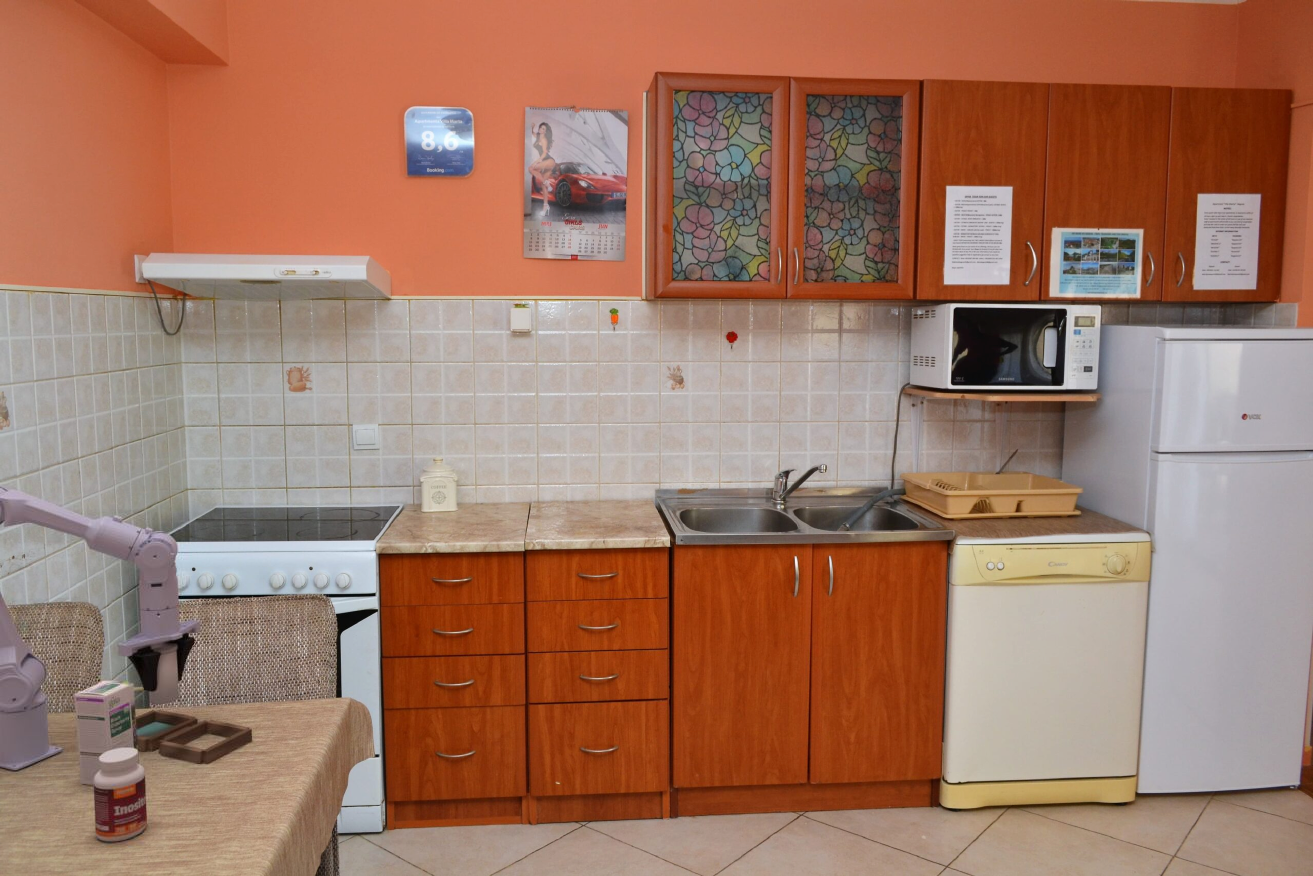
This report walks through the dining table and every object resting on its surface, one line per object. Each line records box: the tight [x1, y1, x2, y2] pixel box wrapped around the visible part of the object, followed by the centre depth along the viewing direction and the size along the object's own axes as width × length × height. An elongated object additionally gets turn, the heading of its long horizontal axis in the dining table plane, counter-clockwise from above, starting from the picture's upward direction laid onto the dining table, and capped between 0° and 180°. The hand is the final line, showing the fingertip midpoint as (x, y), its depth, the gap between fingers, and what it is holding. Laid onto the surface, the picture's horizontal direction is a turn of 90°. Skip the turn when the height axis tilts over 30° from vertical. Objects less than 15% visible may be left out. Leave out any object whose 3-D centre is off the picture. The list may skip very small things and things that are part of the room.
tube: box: [148, 643, 180, 705], centre depth 160 cm, size 5×5×9 cm
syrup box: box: [73, 680, 140, 787], centre depth 146 cm, size 6×6×14 cm
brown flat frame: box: [136, 709, 253, 765], centre depth 160 cm, size 22×10×2 cm, turn 69°
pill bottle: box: [93, 748, 148, 843], centre depth 130 cm, size 6×6×11 cm
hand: (162, 685), depth 160 cm, fingers closed on tube, 4 cm apart
